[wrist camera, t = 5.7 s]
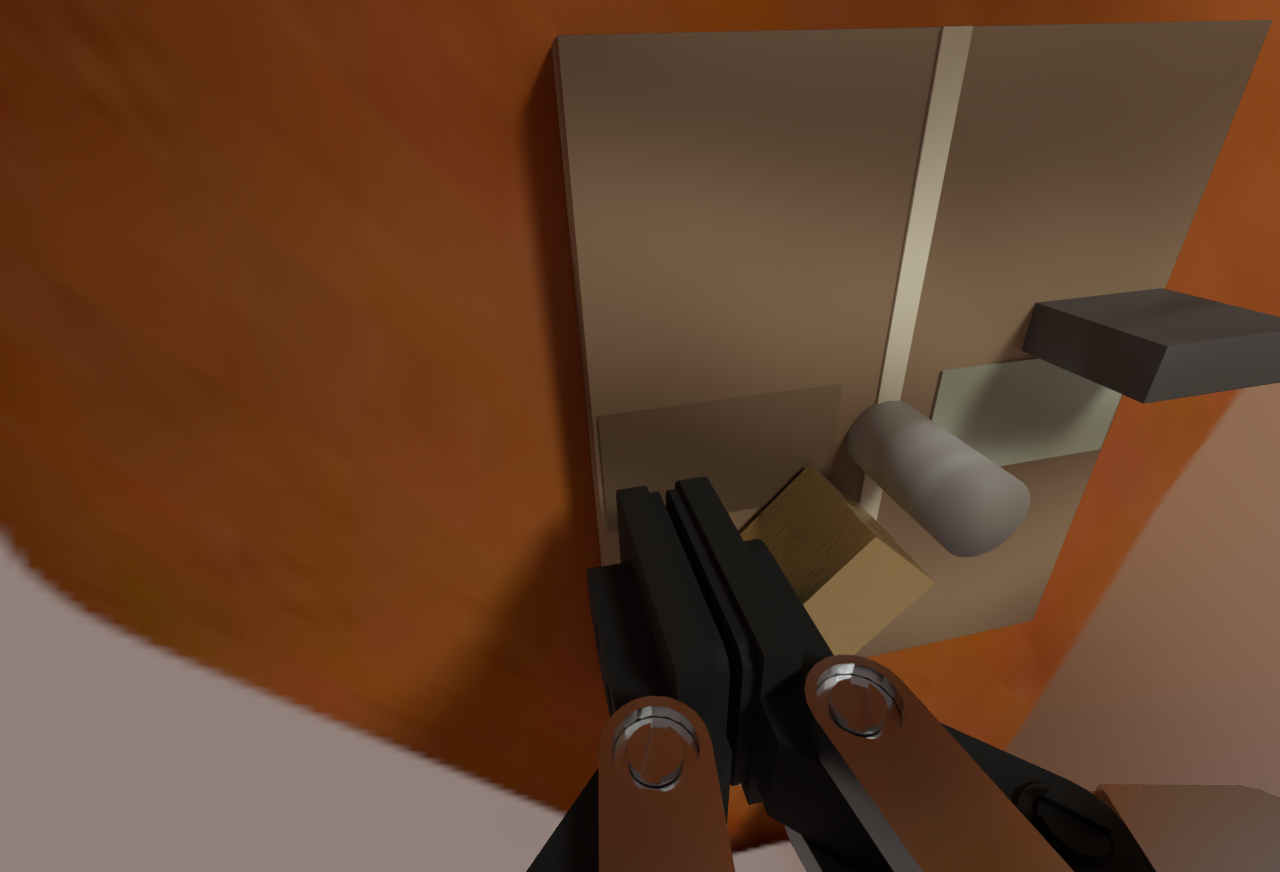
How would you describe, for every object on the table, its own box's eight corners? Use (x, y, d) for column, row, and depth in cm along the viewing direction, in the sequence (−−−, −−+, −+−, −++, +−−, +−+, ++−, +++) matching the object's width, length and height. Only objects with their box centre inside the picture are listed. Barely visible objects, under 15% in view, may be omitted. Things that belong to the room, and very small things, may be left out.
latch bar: (809, 464, 12) (913, 577, 9) (864, 507, 13) (975, 623, 10) (650, 624, 13) (695, 770, 10) (711, 653, 14) (768, 795, 11)
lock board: (551, 44, 9) (587, -11, 5) (1209, 28, 11) (1555, -19, 7) (612, 679, 15) (645, 840, 12) (1005, 595, 17) (1131, 712, 14)
